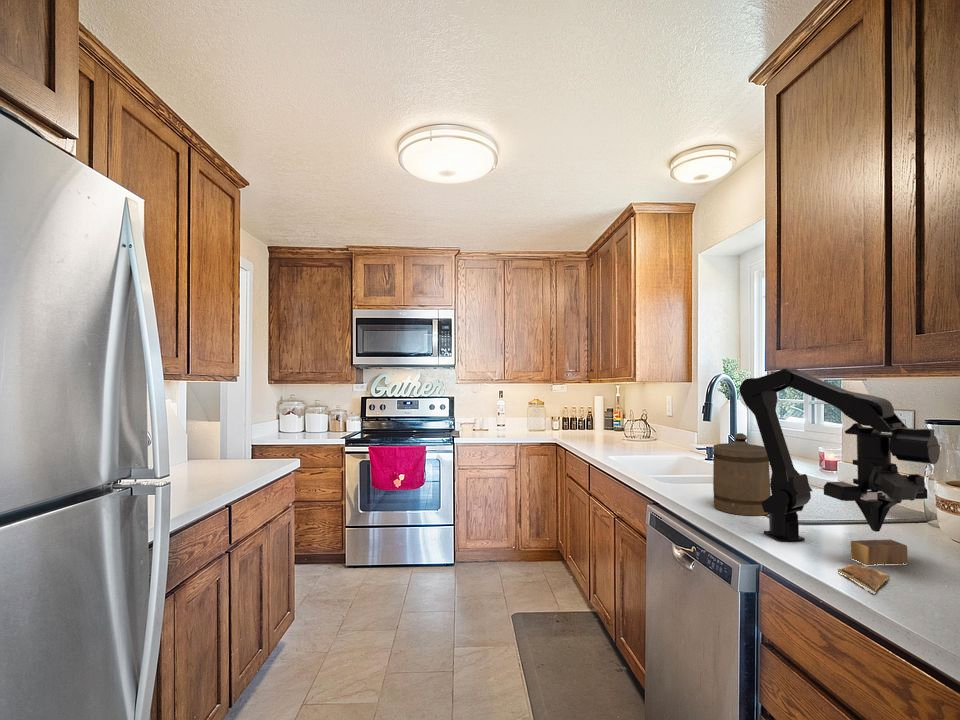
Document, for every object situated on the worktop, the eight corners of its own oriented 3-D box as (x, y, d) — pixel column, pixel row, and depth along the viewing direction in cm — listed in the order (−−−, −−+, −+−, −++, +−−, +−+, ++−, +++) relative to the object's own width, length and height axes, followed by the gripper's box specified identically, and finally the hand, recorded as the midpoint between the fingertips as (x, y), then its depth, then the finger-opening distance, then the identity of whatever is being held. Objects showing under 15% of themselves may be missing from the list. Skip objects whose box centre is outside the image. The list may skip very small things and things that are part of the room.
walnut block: (850, 540, 111) (890, 539, 111) (851, 559, 111) (891, 558, 111) (865, 547, 107) (907, 545, 107) (866, 566, 107) (907, 565, 107)
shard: (874, 598, 93) (874, 588, 93) (826, 584, 99) (826, 575, 99) (891, 582, 100) (891, 573, 100) (845, 570, 106) (845, 561, 106)
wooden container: (754, 502, 158) (752, 430, 158) (781, 516, 143) (779, 436, 143) (705, 502, 158) (704, 430, 158) (727, 516, 143) (726, 437, 144)
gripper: (861, 465, 101) (863, 545, 100) (952, 463, 102) (954, 542, 102) (821, 455, 112) (822, 528, 112) (902, 453, 113) (904, 525, 113)
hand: (875, 531), depth 109 cm, fingers closed
